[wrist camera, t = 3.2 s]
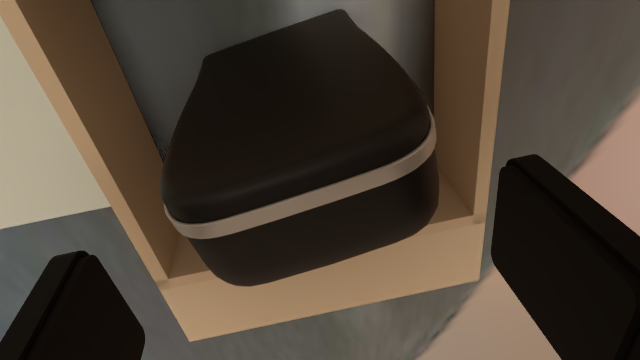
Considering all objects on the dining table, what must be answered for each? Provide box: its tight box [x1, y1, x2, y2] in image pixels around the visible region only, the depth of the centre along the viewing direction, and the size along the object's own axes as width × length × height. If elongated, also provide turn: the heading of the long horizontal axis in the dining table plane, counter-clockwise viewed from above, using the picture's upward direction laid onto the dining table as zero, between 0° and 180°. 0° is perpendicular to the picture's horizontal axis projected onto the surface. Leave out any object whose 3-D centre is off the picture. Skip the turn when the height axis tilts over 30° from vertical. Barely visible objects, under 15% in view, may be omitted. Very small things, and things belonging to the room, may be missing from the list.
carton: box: [0, 0, 510, 342], centre depth 16 cm, size 15×22×5 cm
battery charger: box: [159, 9, 439, 287], centre depth 14 cm, size 7×4×11 cm, turn 107°
